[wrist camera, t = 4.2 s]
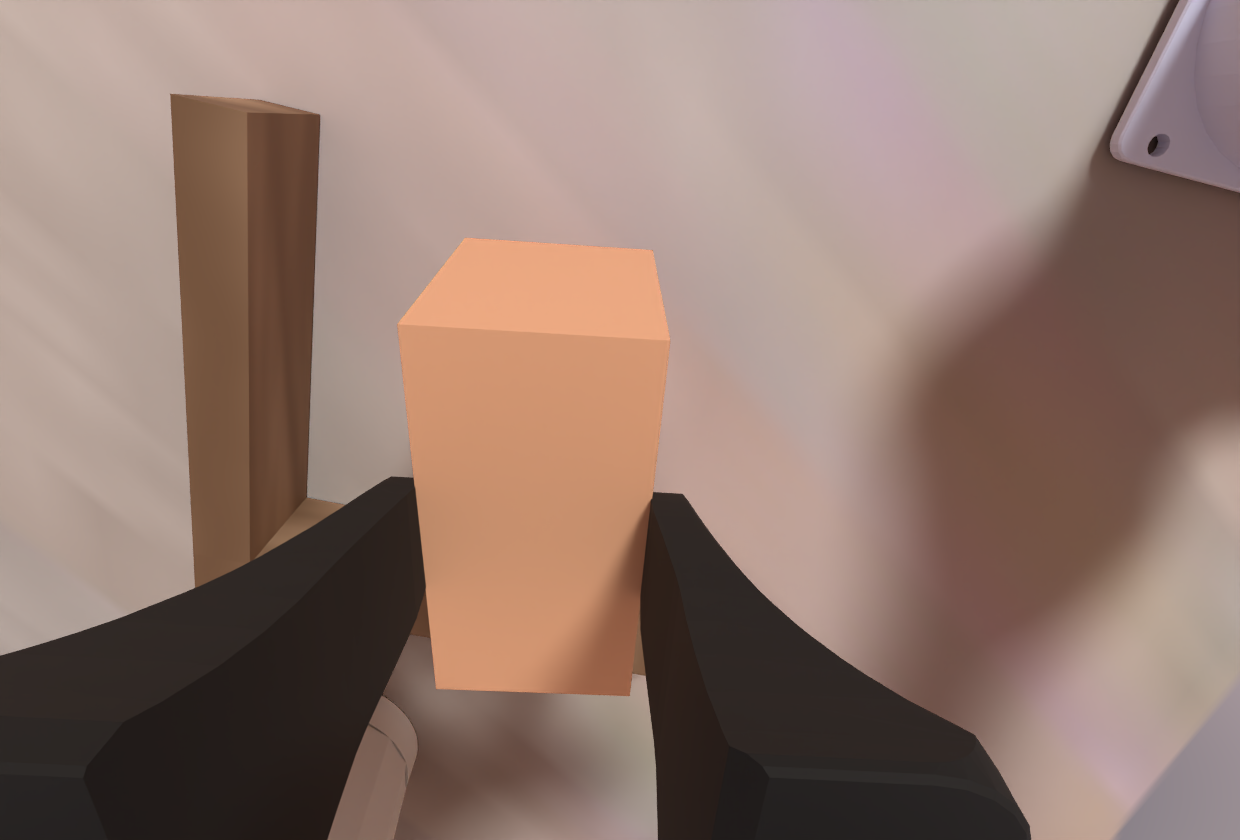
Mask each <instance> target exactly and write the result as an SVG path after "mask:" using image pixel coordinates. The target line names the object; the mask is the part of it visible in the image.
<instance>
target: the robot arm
mask: <svg viewBox="0 0 1240 840" xmlns="http://www.w3.org/2000/svg"><path fill="white" fill-rule="evenodd" d="M1155 136H1157V139H1158V144H1157V148H1156V149H1155V150H1154V151H1153V153H1151V154H1148V150H1147V148H1148V144H1149V142H1150V141H1151V139H1152V138H1153V137H1155ZM1110 152H1111V154H1112V155H1113V157H1114V158H1115V159H1117V160H1119V161H1122V162H1126V163H1129V164H1133V165H1137V166H1141V167H1144V168H1148V169H1152V170H1156V171H1159V172H1163V173H1167V174H1171V175H1174V176H1178V177H1182V178H1186V179H1190V180H1193V181H1197V182H1201V183H1205V184H1208V185H1212V186H1216V187H1220V188H1223V189H1227V190H1231V191H1235V192H1238V193H1240V0H1179V2H1178V4H1177V6H1176V8H1175V10H1174V12H1173V14H1172V16H1171V18H1170V20H1169V22H1168V24H1167V26H1166V28H1165V30H1164V32H1163V34H1162V36H1161V38H1160V40H1159V42H1158V45H1157V47H1156V49H1155V51H1154V53H1153V55H1152V57H1151V59H1150V61H1149V63H1148V65H1147V67H1146V69H1145V71H1144V73H1143V75H1142V77H1141V79H1140V81H1139V83H1138V85H1137V87H1136V89H1135V91H1134V93H1133V95H1132V97H1131V99H1130V101H1129V103H1128V105H1127V107H1126V109H1125V111H1124V113H1123V115H1122V117H1121V119H1120V121H1119V123H1118V125H1117V127H1116V129H1115V131H1114V133H1113V135H1112V138H1111V141H1110ZM425 590H426V582H425V573H424V563H423V554H422V545H421V536H420V526H419V517H418V508H417V498H416V489H415V486H414V478H407V477H390V478H388V479H386V480H384V481H382V482H381V483H379V484H377V485H376V486H374V487H373V488H371V489H370V490H368V491H366V492H365V493H363V494H362V495H360V496H359V497H357V498H356V499H354V500H353V501H351V502H349V503H348V504H346V505H345V506H343V507H342V508H340V509H339V510H337V511H335V512H334V513H332V514H331V515H329V516H328V517H326V518H324V519H323V520H321V521H320V522H318V523H317V524H315V525H313V526H312V527H310V528H309V529H307V530H305V531H303V532H302V533H300V534H298V535H296V536H295V537H293V538H291V539H289V540H288V541H286V542H284V543H282V544H281V545H279V546H277V547H276V548H274V549H272V550H270V551H269V552H267V553H265V554H263V555H262V556H260V557H258V558H256V559H254V560H252V561H250V562H248V563H247V564H245V565H243V566H241V567H239V568H237V569H235V570H233V571H231V572H228V573H226V574H224V575H222V576H220V577H218V578H216V579H214V580H211V581H209V582H207V583H205V584H203V585H201V586H199V587H196V588H194V589H192V590H189V591H187V592H185V593H182V594H180V595H177V596H175V597H172V598H170V599H167V600H164V601H162V602H159V603H157V604H154V605H152V606H149V607H147V608H144V609H142V610H139V611H137V612H134V613H132V614H129V615H127V616H124V617H121V618H119V619H116V620H113V621H110V622H107V623H104V624H101V625H98V626H95V627H93V628H90V629H87V630H84V631H81V632H78V633H75V634H71V635H68V636H65V637H62V638H59V639H55V640H52V641H49V642H46V643H43V644H39V645H36V646H33V647H29V648H26V649H22V650H19V651H16V652H12V653H9V654H5V655H1V656H0V840H328V836H329V833H330V830H331V827H332V824H333V821H334V818H335V815H336V811H337V809H338V806H339V803H340V800H341V797H342V794H343V791H344V788H345V785H346V782H347V779H348V776H349V773H350V770H351V768H352V765H353V762H354V759H355V756H356V753H357V751H358V748H359V746H360V743H361V741H362V738H363V736H364V733H365V731H366V729H367V726H368V724H369V722H370V720H371V718H372V715H373V713H374V711H375V709H376V707H377V705H378V702H379V700H380V698H381V696H382V694H383V692H384V689H385V687H386V685H387V683H388V681H389V678H390V676H391V674H392V672H393V670H394V668H395V665H396V663H397V661H398V659H399V657H400V655H401V652H402V650H403V648H404V646H405V643H406V641H407V639H408V637H409V635H410V632H411V630H412V628H413V626H414V623H415V621H416V619H417V616H418V612H419V609H420V606H421V603H422V600H423V597H424V593H425ZM640 632H641V640H642V649H643V657H644V665H645V673H646V681H647V689H648V697H649V705H650V713H651V722H652V730H653V738H654V748H655V760H656V780H657V817H658V840H1031V834H1030V826H1029V824H1028V822H1027V820H1026V819H1025V817H1024V815H1023V813H1022V812H1021V810H1020V808H1019V807H1018V805H1017V803H1016V801H1015V800H1014V798H1013V796H1012V794H1011V792H1010V790H1009V788H1008V787H1007V785H1006V783H1005V781H1004V780H1003V778H1002V776H1001V774H1000V773H999V771H998V769H997V768H996V766H995V765H994V763H993V762H992V760H991V759H990V757H989V756H988V754H987V753H986V751H985V750H984V748H983V747H982V745H981V744H980V742H979V741H978V739H977V738H976V736H975V735H974V734H972V733H970V732H968V731H966V730H964V729H962V728H960V727H958V726H956V725H955V724H953V723H951V722H949V721H947V720H945V719H943V718H941V717H939V716H937V715H935V714H933V713H932V712H930V711H928V710H926V709H924V708H922V707H920V706H918V705H916V704H914V703H912V702H910V701H908V700H907V699H905V698H903V697H901V696H900V695H898V694H896V693H895V692H893V691H892V690H890V689H888V688H887V687H885V686H883V685H882V684H880V683H878V682H877V681H875V680H874V679H872V678H870V677H869V676H867V675H865V674H864V673H862V672H861V671H859V670H858V669H856V668H855V667H853V666H852V665H850V664H849V663H847V662H846V661H844V660H843V659H841V658H840V657H839V656H837V655H836V654H835V653H833V652H832V651H830V650H829V649H828V648H826V647H825V646H824V645H822V644H821V643H820V642H818V641H817V640H816V639H814V638H813V637H812V636H810V635H809V634H808V633H807V632H805V631H804V630H803V629H802V628H800V627H799V626H798V625H797V624H795V623H794V622H793V621H792V620H791V619H790V618H789V617H787V616H786V615H785V614H784V613H783V612H782V611H781V610H780V609H778V608H777V607H776V606H775V605H774V604H773V603H772V602H771V601H769V600H768V599H767V598H766V597H765V596H764V595H763V594H762V593H761V592H760V591H759V590H758V589H757V588H756V587H755V586H754V585H753V583H752V582H751V581H750V580H749V579H748V578H747V577H746V576H745V575H744V574H743V573H742V571H741V570H740V569H739V568H738V567H737V566H736V565H735V563H734V562H733V561H732V560H731V558H730V557H729V556H728V555H727V553H726V552H725V551H724V550H723V549H722V547H721V546H720V545H719V544H718V542H717V541H716V540H715V538H714V537H713V536H712V534H711V533H710V532H709V530H708V529H707V528H706V526H705V525H704V523H703V522H702V521H701V519H700V518H699V516H698V515H697V513H696V512H695V510H694V509H693V507H692V506H691V504H690V503H689V501H688V500H687V499H686V498H685V496H684V495H683V494H674V493H658V492H653V496H652V499H651V504H650V513H649V522H648V531H647V540H646V549H645V558H644V567H643V576H642V585H641V593H640Z"/></svg>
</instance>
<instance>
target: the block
mask: <svg viewBox="0 0 1240 840" xmlns="http://www.w3.org/2000/svg"><path fill="white" fill-rule="evenodd" d="M397 326H398V336H399V345H400V354H401V364H402V373H403V382H404V392H405V401H406V411H407V420H408V429H409V439H410V448H411V457H412V467H413V476H414V486H415V489H416V498H417V508H418V517H419V526H420V536H421V545H422V554H423V563H424V573H425V582H426V598H427V607H428V617H429V626H430V635H431V645H432V654H433V664H434V673H435V682H436V689H454V690H481V691H508V692H534V693H561V694H588V695H615V696H630V688H631V679H632V671H633V662H634V653H635V645H636V636H637V627H638V618H639V610H640V593H641V585H642V576H643V567H644V558H645V549H646V540H647V531H648V522H649V513H650V504H651V499H652V496H653V487H654V479H655V470H656V461H657V453H658V444H659V435H660V426H661V418H662V409H663V400H664V392H665V383H666V374H667V365H668V357H669V348H670V336H669V331H668V326H667V321H666V316H665V311H664V306H663V301H662V296H661V291H660V285H659V280H658V275H657V270H656V265H655V260H654V255H653V250H642V249H626V248H611V247H596V246H581V245H566V244H551V243H535V242H520V241H505V240H490V239H475V238H465V239H464V240H463V241H462V242H461V244H460V245H459V246H458V248H457V249H456V250H455V251H454V253H453V254H452V255H451V256H450V258H449V259H448V260H447V262H446V263H445V264H444V265H443V267H442V268H441V269H440V270H439V272H438V273H437V274H436V276H435V277H434V278H433V279H432V281H431V282H430V283H429V284H428V286H427V287H426V288H425V290H424V291H423V292H422V293H421V295H420V296H419V297H418V298H417V300H416V301H415V302H414V304H413V305H412V306H411V307H410V309H409V310H408V311H407V312H406V314H405V315H404V316H403V318H402V319H401V320H400V321H399V323H398V324H397Z"/></svg>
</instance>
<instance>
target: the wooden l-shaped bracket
mask: <svg viewBox="0 0 1240 840" xmlns="http://www.w3.org/2000/svg"><path fill="white" fill-rule="evenodd" d="M170 95H171V115H172V135H173V155H174V175H175V195H176V215H177V235H178V255H179V275H180V295H181V315H182V335H183V355H184V375H185V395H186V415H187V435H188V455H189V475H190V495H191V515H192V535H193V554H194V574H195V588H196V587H199V586H201V585H203V584H205V583H207V582H209V581H211V580H214V579H216V578H218V577H220V576H222V575H224V574H226V573H228V572H231V571H233V570H235V569H237V568H239V567H241V566H243V565H245V564H247V563H248V562H250V561H252V560H254V559H256V558H258V557H260V556H262V555H263V554H265V553H267V552H269V551H270V550H272V549H274V548H276V547H277V546H279V545H281V544H282V543H284V542H286V541H288V540H289V539H291V538H293V537H295V536H296V535H298V534H300V533H302V532H303V531H305V530H307V529H309V528H310V527H312V526H313V525H315V524H317V523H318V522H320V521H321V520H323V519H324V518H326V517H328V516H329V515H331V514H332V513H334V512H335V511H337V510H339V509H340V508H342V507H343V506H345V505H343V504H337V503H332V502H327V501H322V500H317V499H311V498H306V493H307V465H308V436H309V408H310V380H311V352H312V323H313V295H314V267H315V238H316V210H317V182H318V154H319V125H320V115H319V114H315V113H311V112H307V111H303V110H299V109H294V108H290V107H286V106H282V105H278V104H274V103H270V102H266V101H262V100H254V99H239V98H224V97H209V96H194V95H179V94H170ZM410 634H411V635H417V636H422V637H428V638H431V635H430V626H429V617H428V607H427V598H426V590H425V593H424V597H423V600H422V603H421V606H420V609H419V612H418V616H417V619H416V621H415V623H414V626H413V628H412V630H411V632H410ZM632 673H633V674H639V675H645V676H646V673H645V665H644V657H643V649H642V640H641V632H640V610H639V618H638V627H637V636H636V645H635V653H634V662H633V671H632Z"/></svg>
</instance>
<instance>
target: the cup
mask: <svg viewBox="0 0 1240 840" xmlns="http://www.w3.org/2000/svg"><path fill="white" fill-rule="evenodd" d="M417 751H418V741H417V736H416V733H415V730H414V728H413V726H412V724H411V722H410V721H409V719H408V718H407V717H406V715H405V714H404V713H403V712H402V711H401V710H400V709H399V708H398V707H397V706H396V705H395V704H394V703H392V702H391V701H390V700H388V699H387V698H385V697H384V696H381V698H380V700H379V702H378V705H377V707H376V709H375V711H374V713H373V715H372V718H371V720H370V722H369V724H368V726H367V729H366V731H365V733H364V736H363V738H362V741H361V743H360V746H359V748H358V751H357V753H356V756H355V759H354V762H353V765H352V768H351V770H350V773H349V776H348V779H347V782H346V785H345V788H344V791H343V794H342V797H341V800H340V803H339V806H338V809H337V811H336V815H335V818H334V821H333V824H332V827H331V830H330V833H329V836H328V840H394V836H395V832H396V828H397V824H398V820H399V815H400V811H401V807H402V803H403V799H404V795H405V791H406V787H407V784H408V781H409V778H410V775H411V772H412V769H413V766H414V763H415V760H416V756H417Z"/></svg>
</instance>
